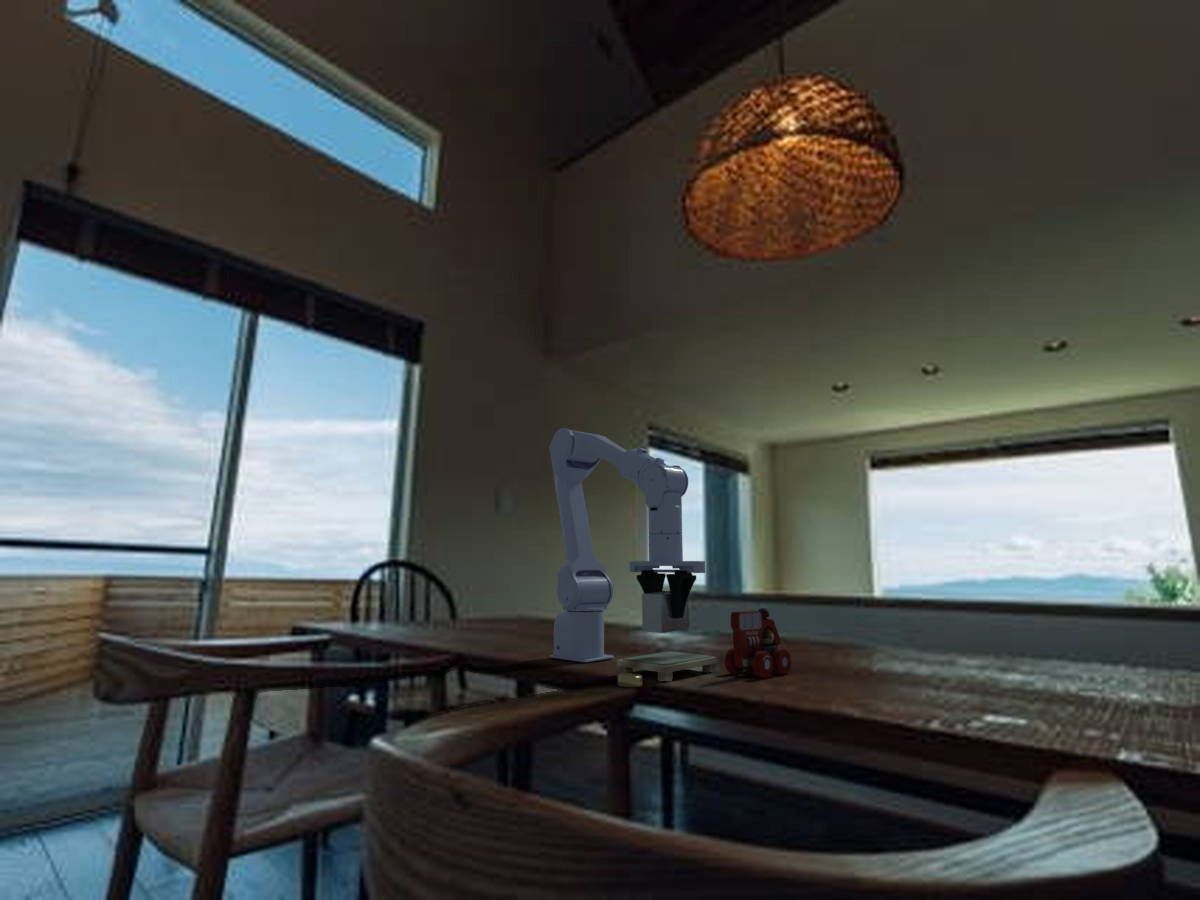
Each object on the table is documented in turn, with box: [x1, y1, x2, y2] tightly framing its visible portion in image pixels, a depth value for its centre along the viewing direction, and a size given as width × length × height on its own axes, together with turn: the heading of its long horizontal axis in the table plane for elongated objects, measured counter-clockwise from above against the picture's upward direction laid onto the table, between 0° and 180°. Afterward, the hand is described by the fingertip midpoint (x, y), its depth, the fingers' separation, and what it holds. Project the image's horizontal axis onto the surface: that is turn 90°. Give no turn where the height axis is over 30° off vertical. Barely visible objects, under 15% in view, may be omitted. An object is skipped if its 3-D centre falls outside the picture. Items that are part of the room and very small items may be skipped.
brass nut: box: [617, 673, 643, 688], centre depth 96 cm, size 4×4×2 cm
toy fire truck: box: [724, 607, 792, 679], centre depth 107 cm, size 7×12×10 cm, turn 132°
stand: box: [616, 650, 718, 681], centre depth 106 cm, size 10×14×2 cm
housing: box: [641, 590, 689, 634], centre depth 108 cm, size 4×7×6 cm, turn 136°
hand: (666, 617), depth 108 cm, fingers closed on housing, 4 cm apart
